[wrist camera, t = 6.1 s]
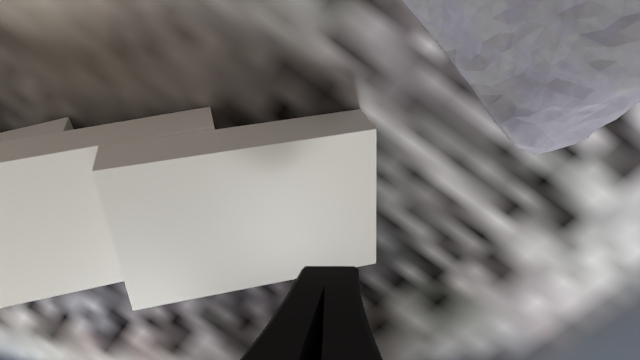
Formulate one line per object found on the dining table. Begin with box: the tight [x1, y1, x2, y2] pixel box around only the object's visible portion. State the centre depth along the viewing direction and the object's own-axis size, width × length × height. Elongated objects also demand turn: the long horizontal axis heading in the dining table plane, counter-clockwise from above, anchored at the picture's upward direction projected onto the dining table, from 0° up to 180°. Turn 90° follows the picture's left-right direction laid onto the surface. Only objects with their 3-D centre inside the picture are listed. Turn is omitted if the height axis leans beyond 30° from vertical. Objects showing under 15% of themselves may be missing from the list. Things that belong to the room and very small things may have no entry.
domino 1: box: [0, 107, 215, 308], centre depth 18 cm, size 5×2×8 cm
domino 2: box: [92, 109, 376, 311], centre depth 17 cm, size 5×2×8 cm
